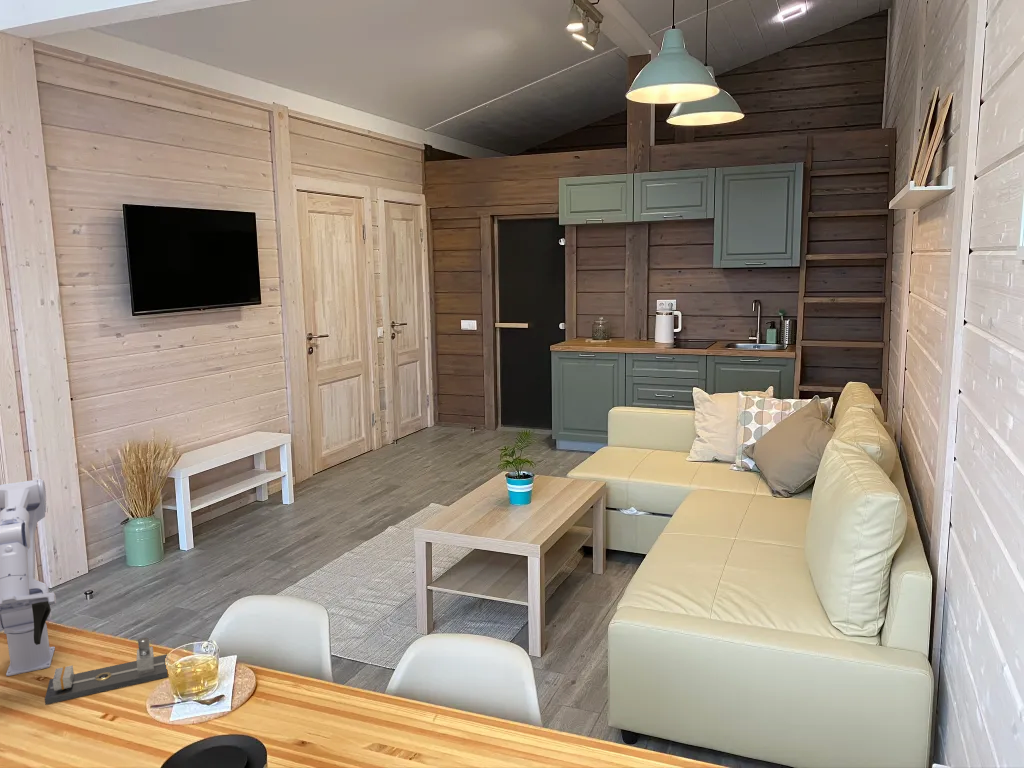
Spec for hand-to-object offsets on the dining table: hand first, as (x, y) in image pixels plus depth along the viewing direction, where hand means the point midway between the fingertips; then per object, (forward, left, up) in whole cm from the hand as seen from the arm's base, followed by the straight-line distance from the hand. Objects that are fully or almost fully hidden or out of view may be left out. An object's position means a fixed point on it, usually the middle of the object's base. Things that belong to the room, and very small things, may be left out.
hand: (14, 648), depth 147 cm
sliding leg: (-3, +7, -11) cm, 13 cm away
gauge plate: (-3, +15, -12) cm, 20 cm away
